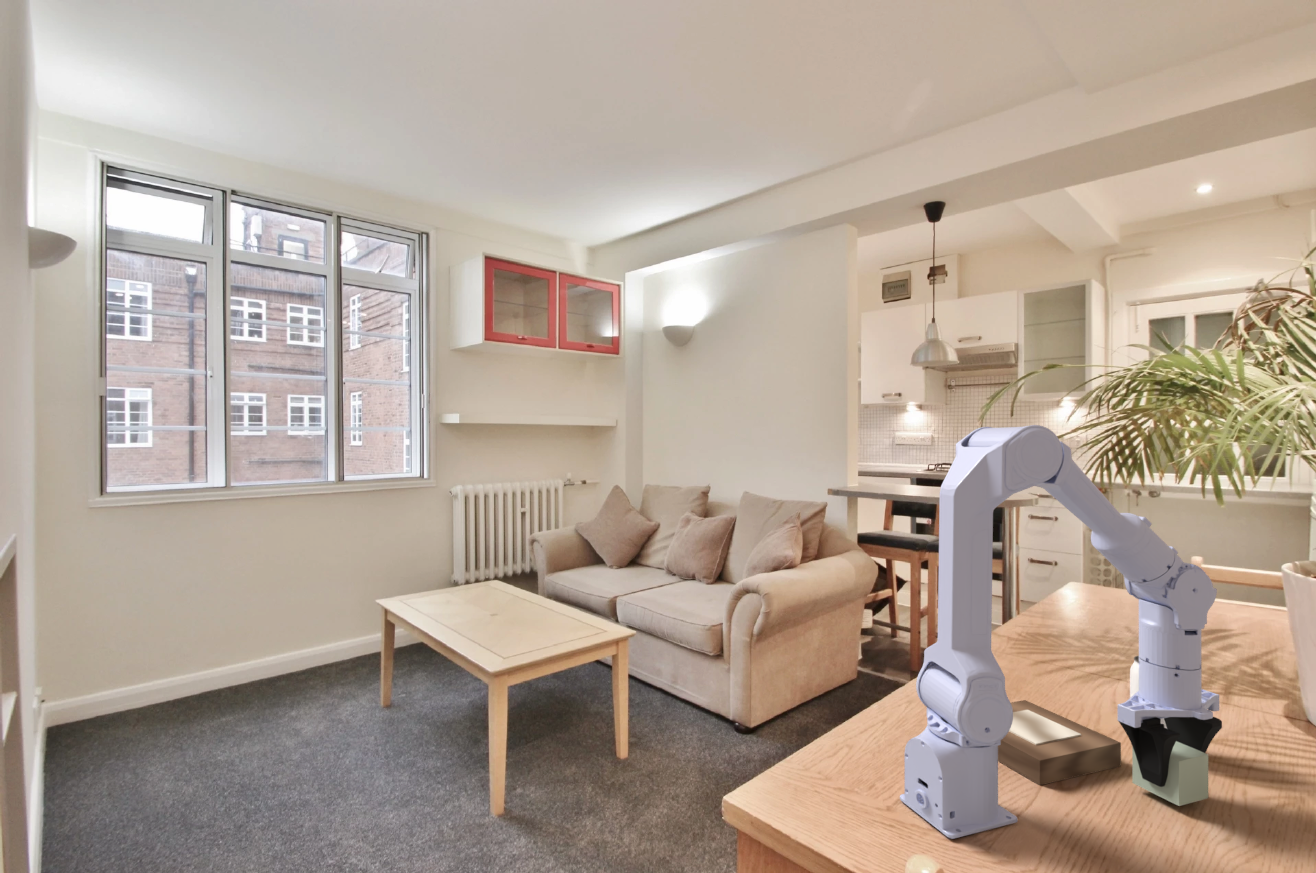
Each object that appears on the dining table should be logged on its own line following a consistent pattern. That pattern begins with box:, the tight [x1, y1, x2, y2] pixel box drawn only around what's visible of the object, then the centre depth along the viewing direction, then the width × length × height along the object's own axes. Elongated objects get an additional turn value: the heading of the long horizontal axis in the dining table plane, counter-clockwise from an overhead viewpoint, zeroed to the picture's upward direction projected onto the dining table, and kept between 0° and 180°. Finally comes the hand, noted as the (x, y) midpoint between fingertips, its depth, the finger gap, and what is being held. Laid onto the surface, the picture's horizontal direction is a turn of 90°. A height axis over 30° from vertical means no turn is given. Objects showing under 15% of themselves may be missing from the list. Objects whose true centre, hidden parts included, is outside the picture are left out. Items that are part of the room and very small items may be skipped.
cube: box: [1131, 741, 1209, 807], centre depth 73 cm, size 5×5×5 cm
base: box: [998, 699, 1122, 786], centre depth 85 cm, size 14×14×3 cm
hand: (1169, 778), depth 73 cm, fingers closed on cube, 5 cm apart
